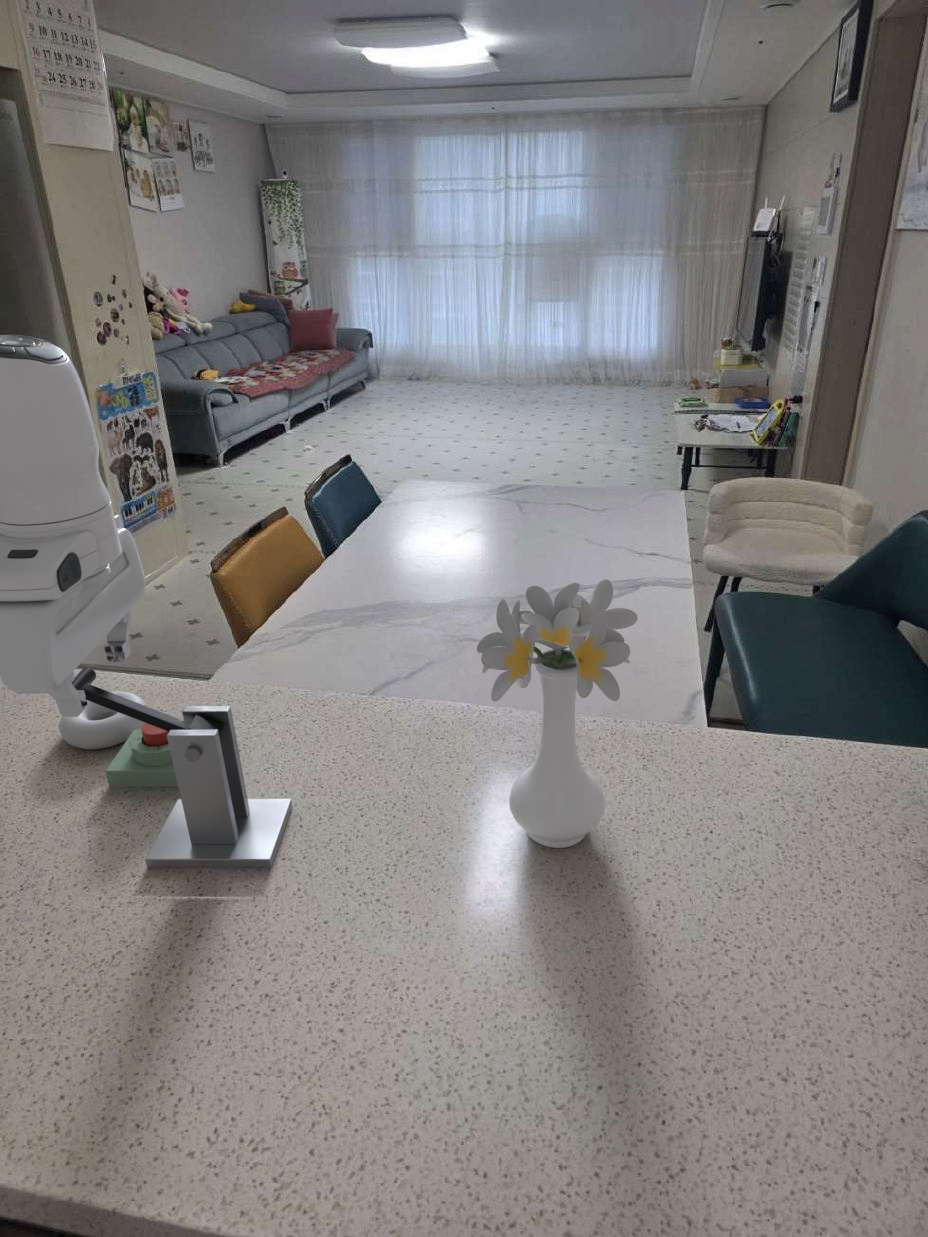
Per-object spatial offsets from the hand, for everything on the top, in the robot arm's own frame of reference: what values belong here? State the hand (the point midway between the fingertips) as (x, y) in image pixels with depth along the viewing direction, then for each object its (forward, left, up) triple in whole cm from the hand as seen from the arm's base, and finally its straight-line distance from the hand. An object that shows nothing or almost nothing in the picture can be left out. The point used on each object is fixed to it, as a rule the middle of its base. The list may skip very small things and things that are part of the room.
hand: (98, 683), depth 75 cm
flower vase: (+42, +2, -18) cm, 45 cm away
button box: (-1, +12, -18) cm, 22 cm away
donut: (-11, +19, -18) cm, 29 cm away
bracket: (+9, 0, -18) cm, 20 cm away
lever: (+3, 0, -4) cm, 5 cm away
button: (-1, +12, -14) cm, 19 cm away
